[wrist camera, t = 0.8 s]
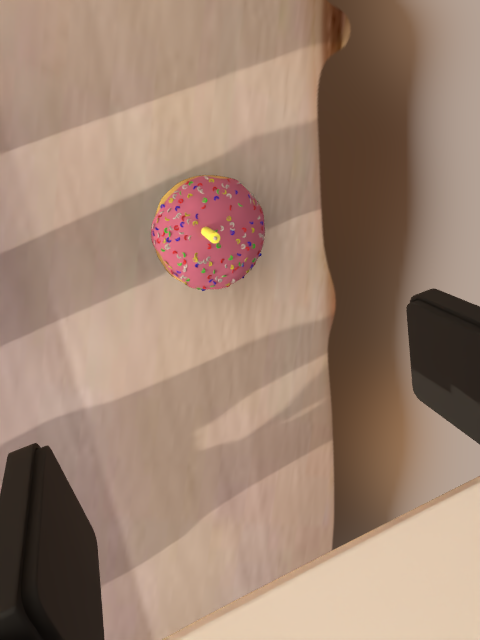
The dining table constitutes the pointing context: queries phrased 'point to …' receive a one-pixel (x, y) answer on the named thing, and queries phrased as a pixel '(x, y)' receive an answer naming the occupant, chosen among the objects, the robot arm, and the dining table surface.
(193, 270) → the cupcake
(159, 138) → the dining table surface
